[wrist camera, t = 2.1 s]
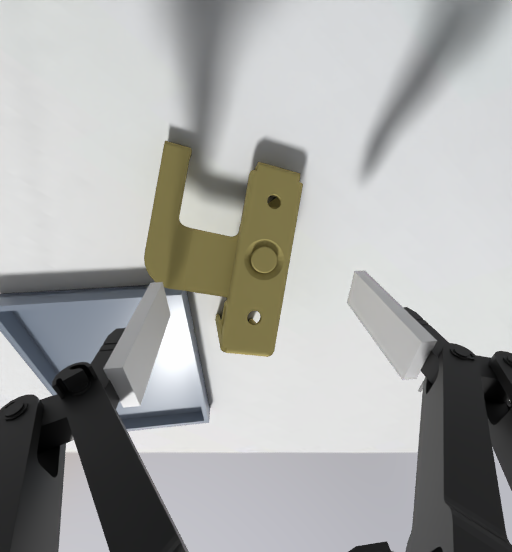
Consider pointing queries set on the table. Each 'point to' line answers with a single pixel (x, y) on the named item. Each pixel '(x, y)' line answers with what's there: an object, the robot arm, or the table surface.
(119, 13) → the table surface
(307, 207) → the table surface
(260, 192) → the bracket
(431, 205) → the table surface
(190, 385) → the tray
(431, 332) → the robot arm
